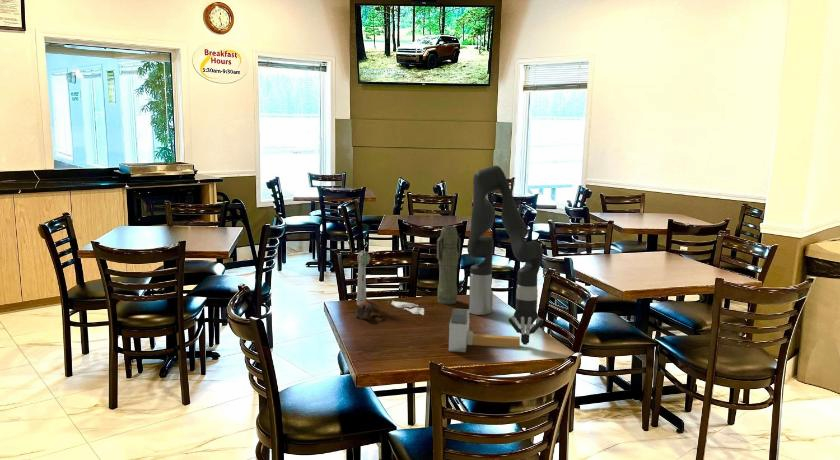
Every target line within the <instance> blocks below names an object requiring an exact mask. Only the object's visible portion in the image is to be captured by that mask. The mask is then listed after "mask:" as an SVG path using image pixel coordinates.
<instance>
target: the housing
mask: <svg viewBox="0 0 840 460" xmlns="http://www.w3.org/2000/svg"><path fill="white" fill-rule="evenodd" d="M450 314H451V316H450V320H449V325H448V329H449V330H448V352H453V353H455V352H457V353H467V348H468V345H467V331H470V316H471V315H470V314H471V313H470V310H469V308H467V309H464V308H452V312H451V313H450Z"/></svg>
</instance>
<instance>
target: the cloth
mask: <svg viewBox="0 0 840 460" xmlns="http://www.w3.org/2000/svg"><path fill="white" fill-rule="evenodd" d="M391 305H392V306H394V307H395V308H402V309H403V308H404V309H403V310H407V311H408V312H410V313H412V314H413V315H419V314H420V315H422V316H424V315H425V308H423V307H419V305H418V304H415V303H412V302H405V301H395V300H391ZM412 307H413V308H412Z"/></svg>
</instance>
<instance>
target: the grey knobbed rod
mask: <svg viewBox="0 0 840 460" xmlns="http://www.w3.org/2000/svg"><path fill="white" fill-rule="evenodd" d="M356 257H357V262H358V269H357V270H358V271H357V291H356V306H357V305H358V306H359V304H360V303H361V302H363V301H365V299H368V297H367V282H366V281H367V278H366V277H367V276H366V275H367V273H366V267H367V266H368V265H369V263H370V261H371V256H370V254H369V252H367V251H366V250H361V251H359V252H358V255H357V256H356ZM358 306H357V307H358Z"/></svg>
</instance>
